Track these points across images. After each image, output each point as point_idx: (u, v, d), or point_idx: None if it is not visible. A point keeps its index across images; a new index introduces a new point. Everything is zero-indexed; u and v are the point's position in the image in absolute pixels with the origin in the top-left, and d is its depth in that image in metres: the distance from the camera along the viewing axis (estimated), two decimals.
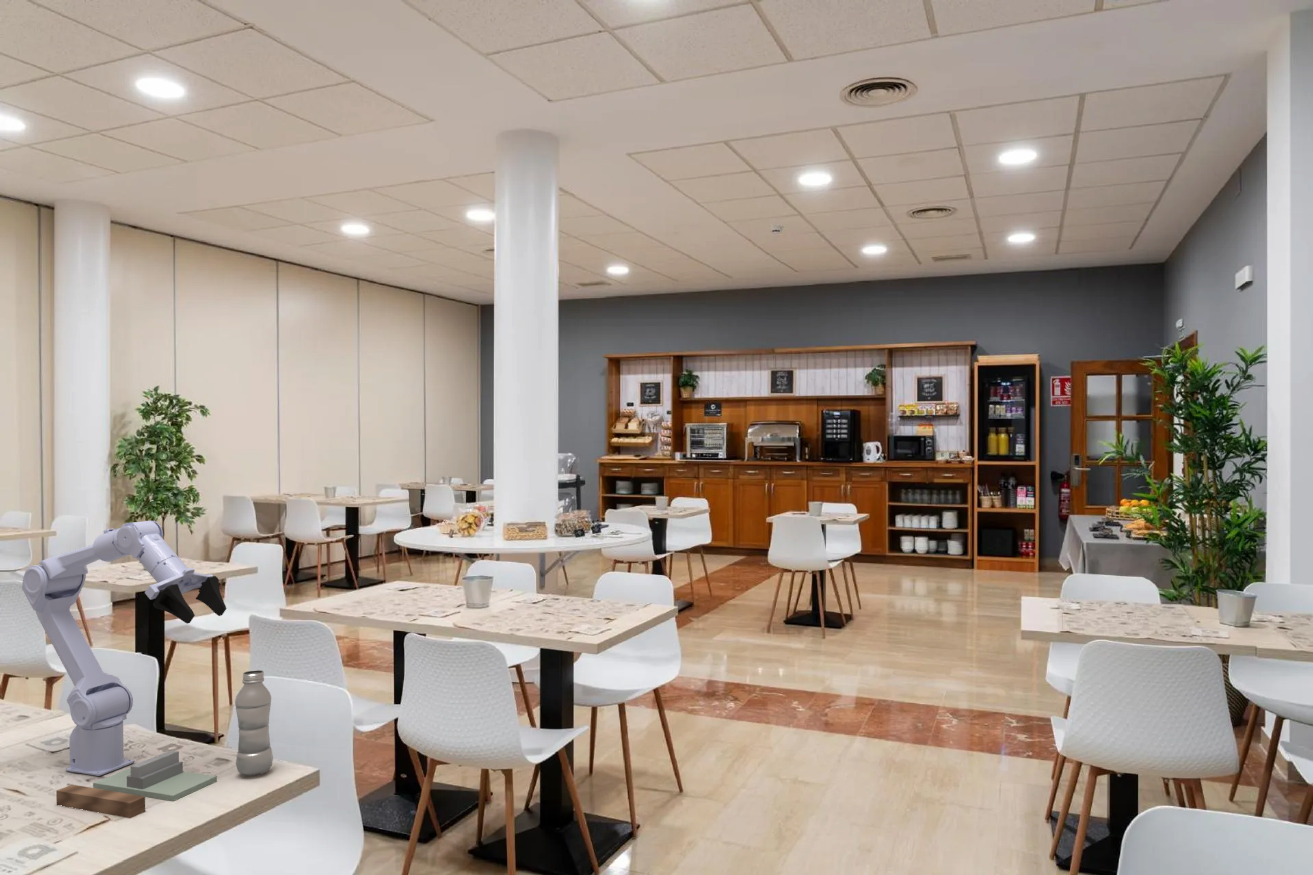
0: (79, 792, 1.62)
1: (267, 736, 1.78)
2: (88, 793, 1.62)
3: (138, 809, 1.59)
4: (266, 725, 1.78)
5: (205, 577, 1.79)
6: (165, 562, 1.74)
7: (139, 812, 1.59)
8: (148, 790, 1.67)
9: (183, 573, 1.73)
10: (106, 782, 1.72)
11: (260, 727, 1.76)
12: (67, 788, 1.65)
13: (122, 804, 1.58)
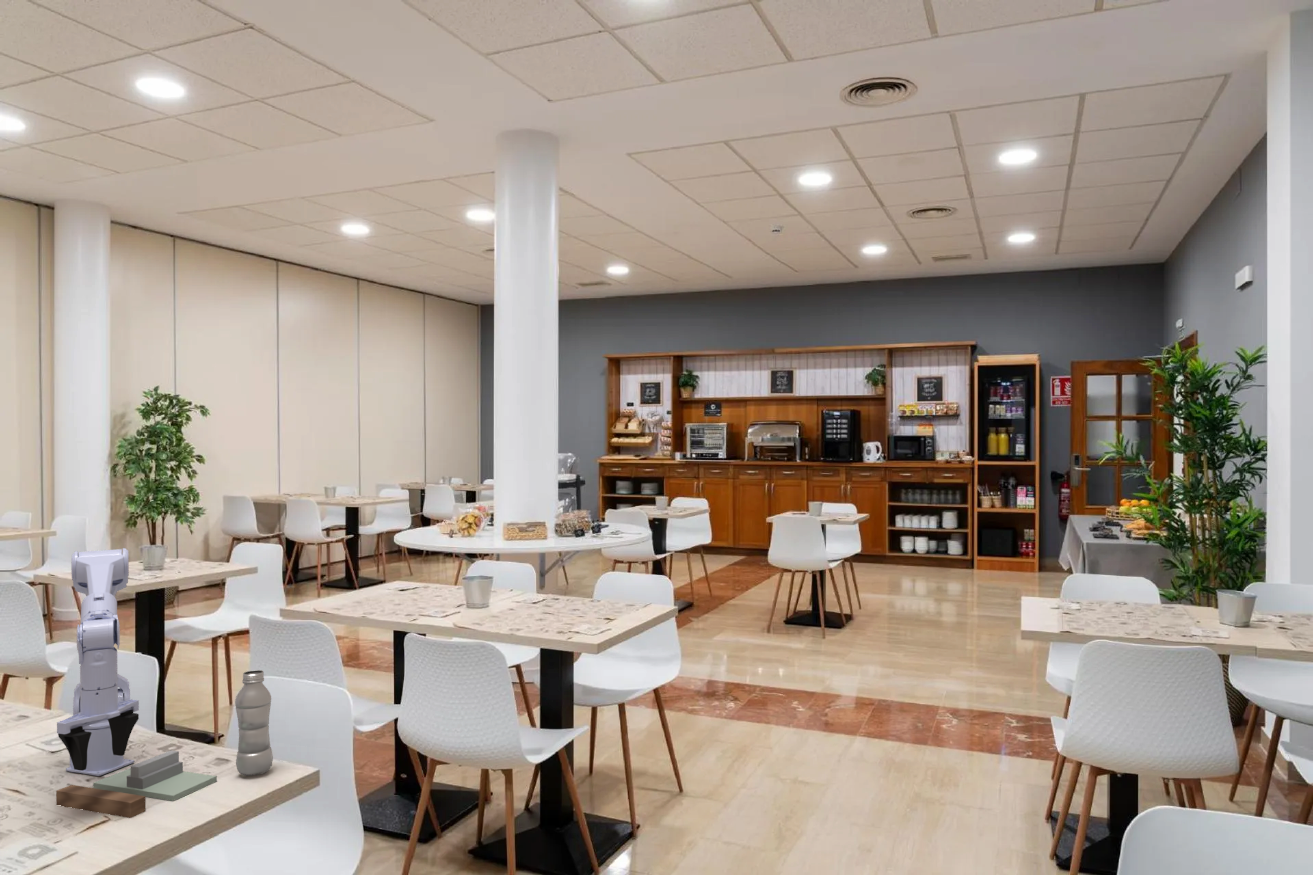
0: (79, 793, 1.62)
1: (267, 736, 1.78)
2: (88, 793, 1.62)
3: (138, 809, 1.59)
4: (266, 725, 1.78)
5: (129, 707, 1.66)
6: (98, 692, 1.60)
7: (139, 812, 1.59)
8: (148, 790, 1.67)
9: (106, 715, 1.60)
10: (106, 782, 1.72)
11: (260, 727, 1.76)
12: (67, 788, 1.64)
13: (123, 804, 1.58)
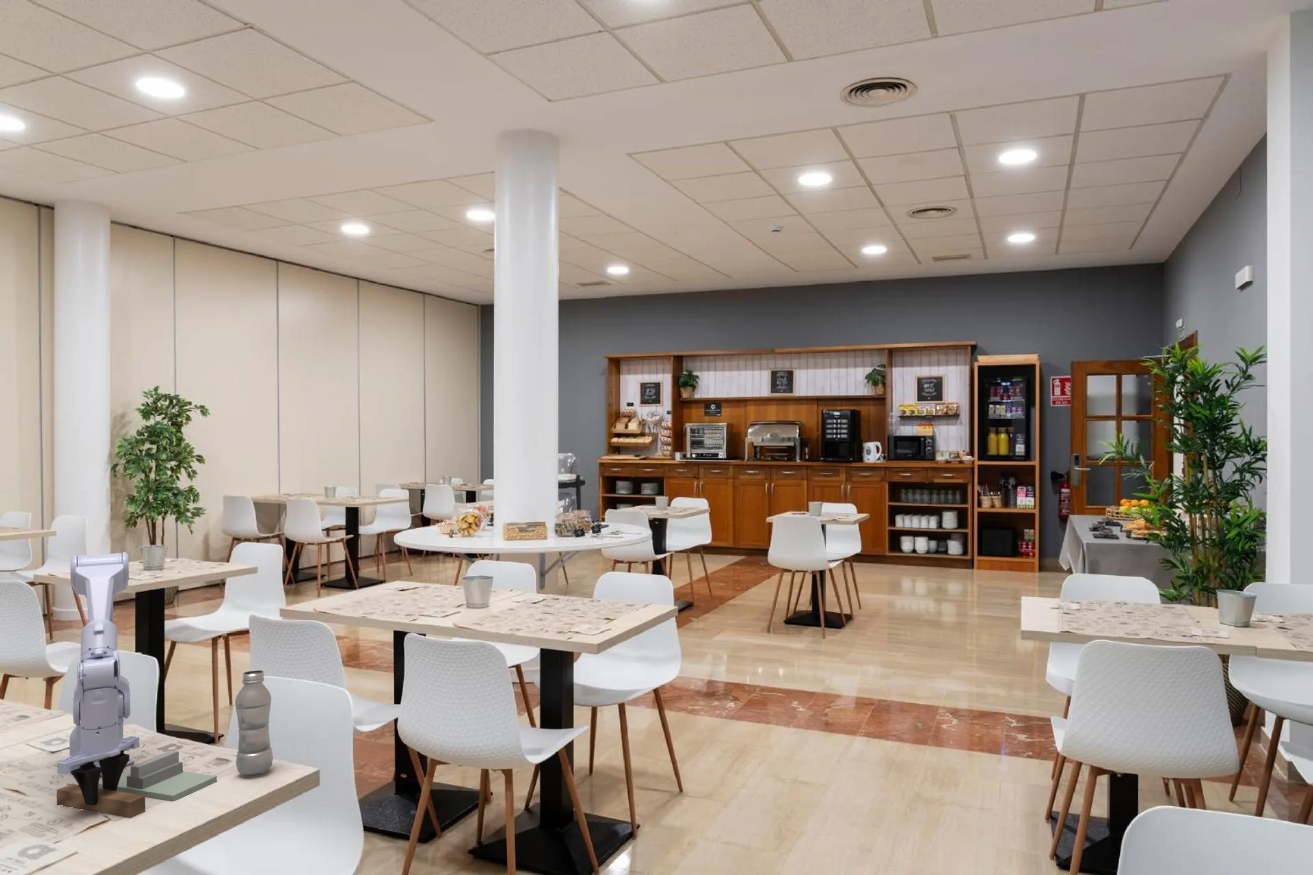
0: (79, 792, 1.62)
1: (267, 736, 1.78)
2: None
3: (138, 808, 1.59)
4: (266, 725, 1.78)
5: None
6: (99, 731, 1.60)
7: (139, 811, 1.59)
8: (148, 790, 1.67)
9: (106, 754, 1.60)
10: None
11: (260, 727, 1.76)
12: (67, 787, 1.65)
13: (122, 803, 1.58)
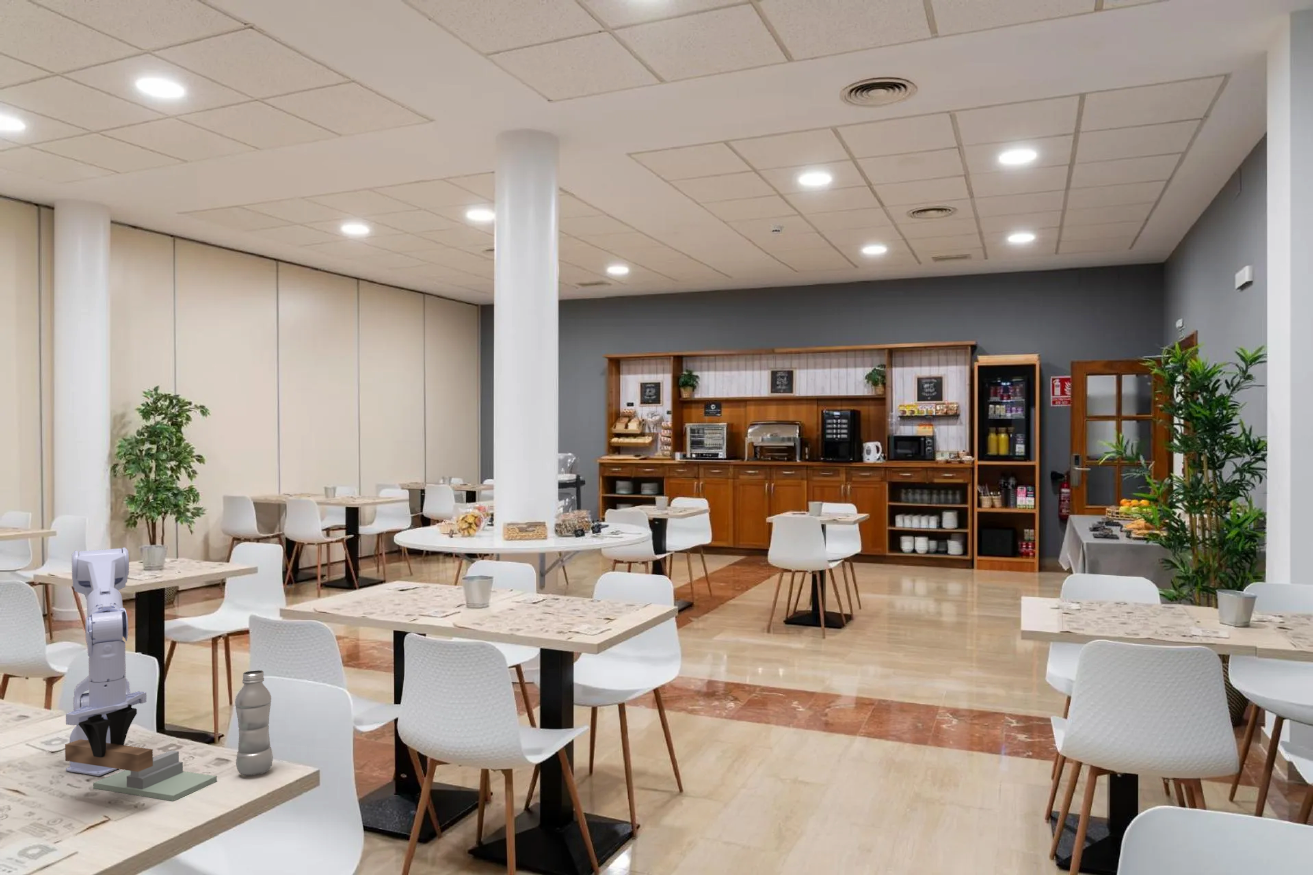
0: (87, 746, 1.64)
1: (267, 736, 1.78)
2: None
3: (146, 761, 1.61)
4: (266, 725, 1.78)
5: None
6: (107, 684, 1.61)
7: (147, 764, 1.61)
8: (148, 790, 1.67)
9: (114, 707, 1.62)
10: (106, 782, 1.72)
11: (260, 727, 1.76)
12: (76, 742, 1.66)
13: (130, 756, 1.60)
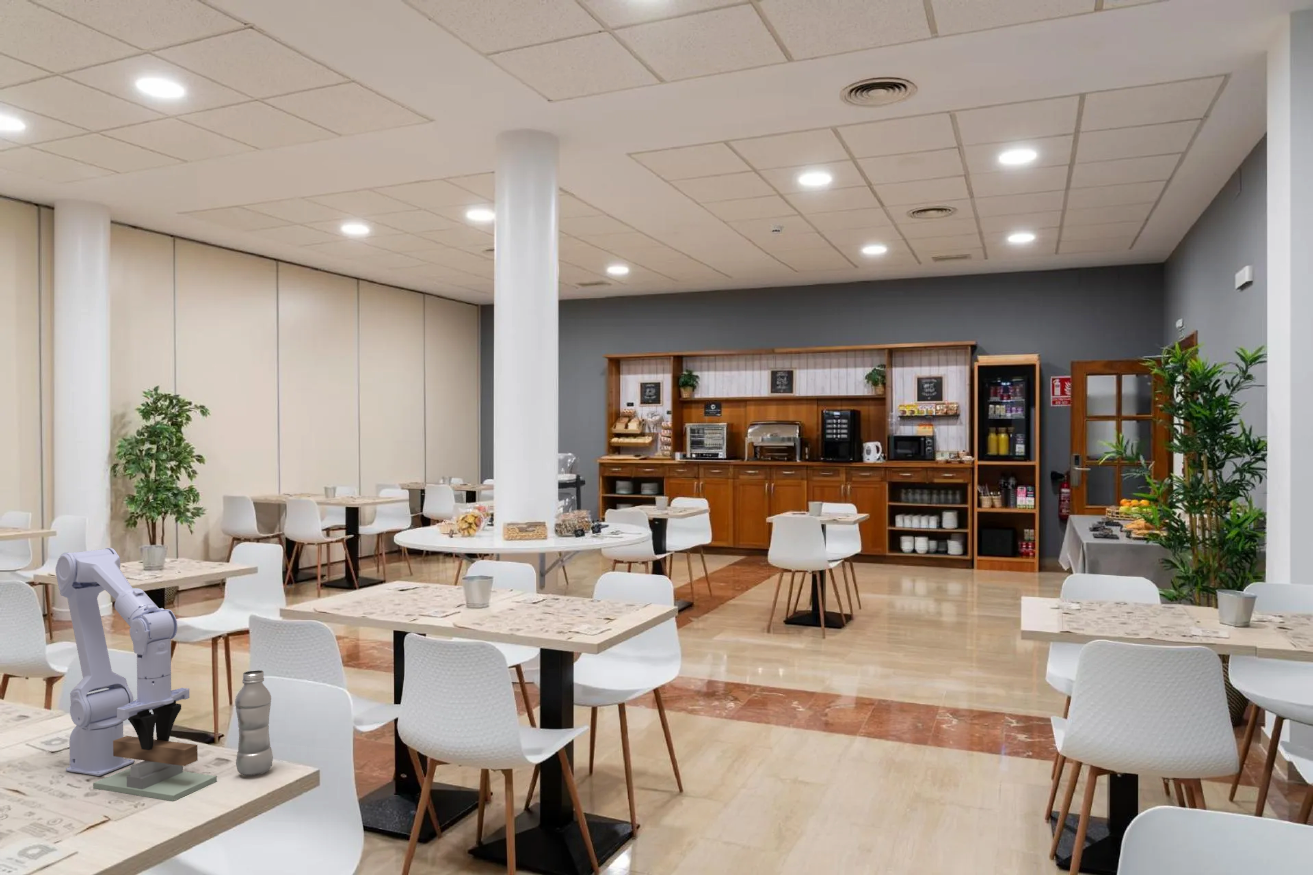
0: (134, 742, 1.73)
1: (267, 736, 1.78)
2: None
3: (191, 756, 1.70)
4: (266, 725, 1.78)
5: None
6: (154, 681, 1.70)
7: (192, 759, 1.70)
8: (148, 790, 1.67)
9: (161, 702, 1.71)
10: (106, 782, 1.72)
11: (260, 727, 1.76)
12: (123, 739, 1.75)
13: (177, 751, 1.69)
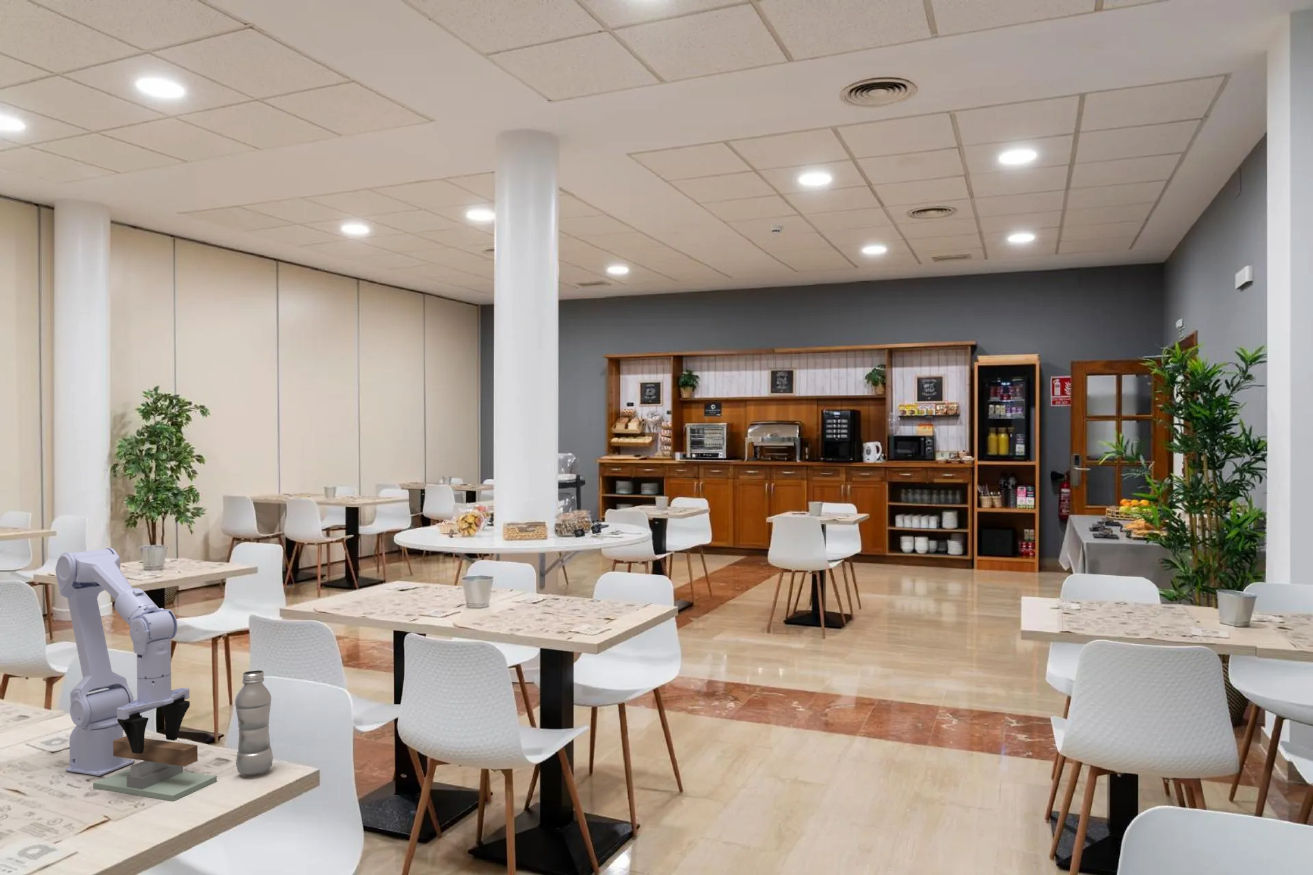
0: None
1: (267, 736, 1.78)
2: None
3: (191, 756, 1.70)
4: (266, 725, 1.78)
5: None
6: (154, 681, 1.70)
7: (192, 759, 1.70)
8: (148, 790, 1.67)
9: (161, 702, 1.71)
10: (106, 782, 1.72)
11: (260, 727, 1.76)
12: (123, 739, 1.75)
13: (177, 752, 1.69)
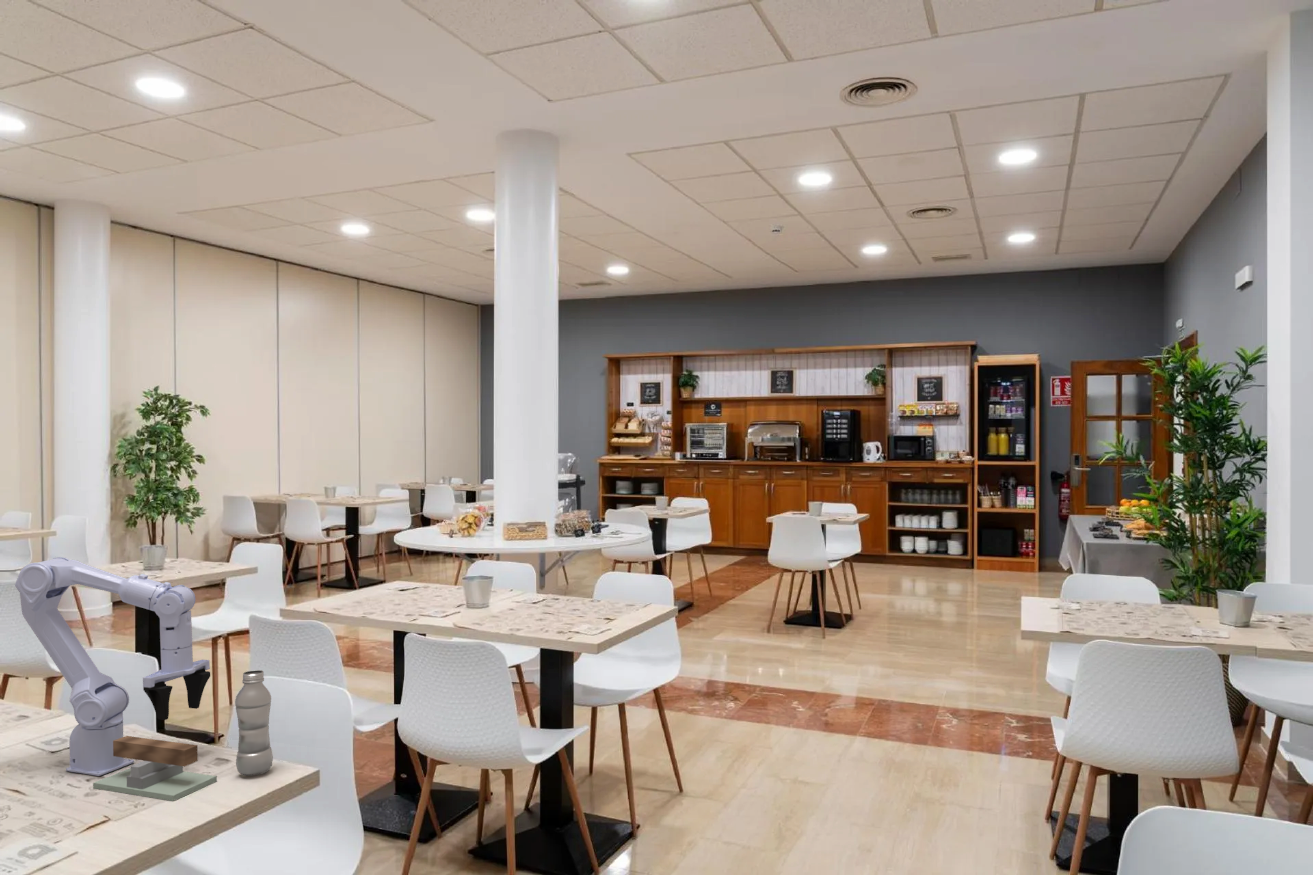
0: (134, 742, 1.73)
1: (267, 736, 1.78)
2: (143, 742, 1.73)
3: (191, 756, 1.70)
4: (266, 725, 1.78)
5: (201, 666, 1.88)
6: (177, 652, 1.81)
7: (192, 759, 1.70)
8: (148, 790, 1.67)
9: (184, 672, 1.81)
10: (106, 782, 1.72)
11: (260, 727, 1.76)
12: (123, 739, 1.75)
13: (177, 752, 1.69)
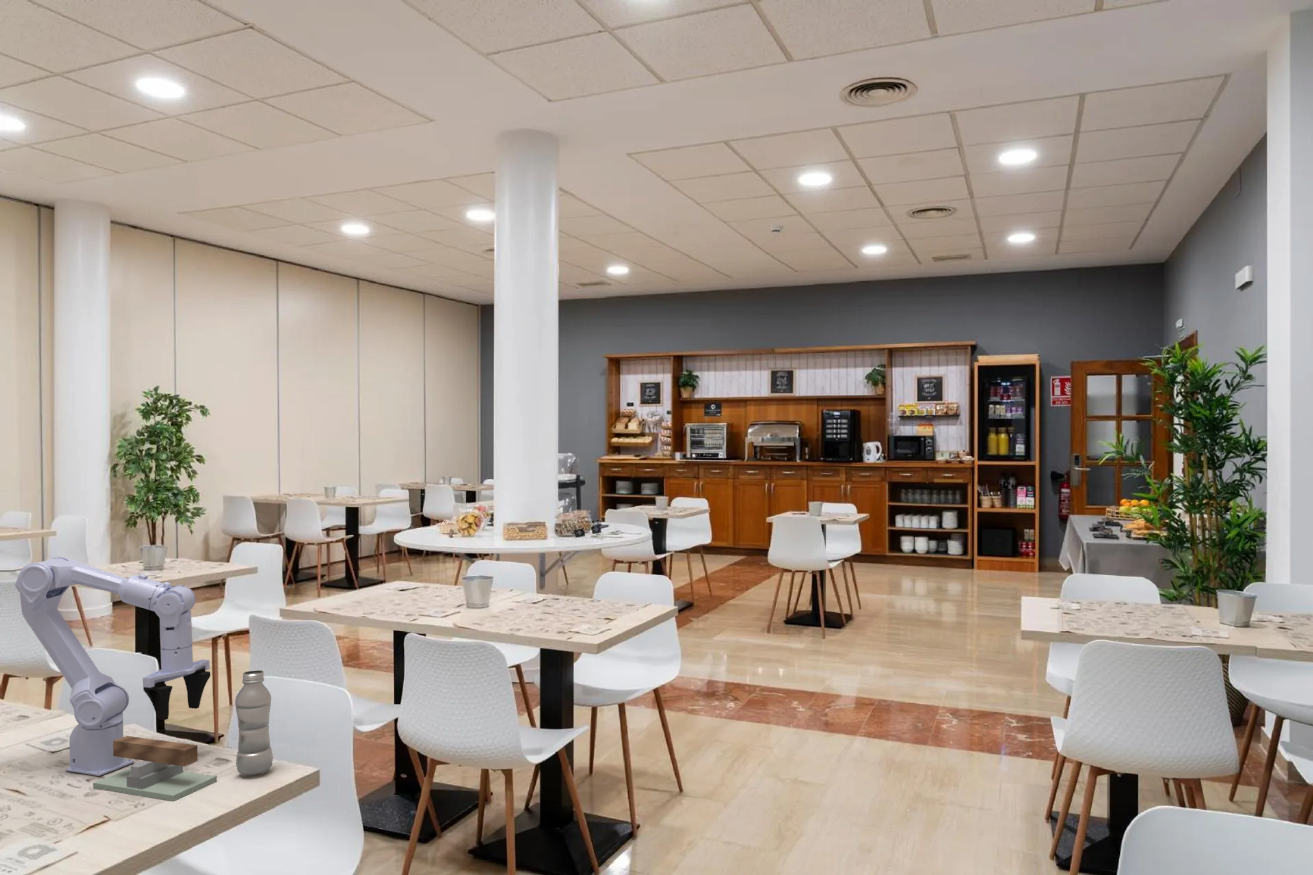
0: (134, 742, 1.73)
1: (267, 736, 1.78)
2: (143, 742, 1.73)
3: (191, 756, 1.70)
4: (266, 725, 1.78)
5: (201, 666, 1.88)
6: (177, 652, 1.81)
7: (192, 759, 1.70)
8: (148, 790, 1.67)
9: (184, 672, 1.81)
10: (106, 782, 1.72)
11: (260, 727, 1.76)
12: (123, 739, 1.75)
13: (177, 752, 1.69)
